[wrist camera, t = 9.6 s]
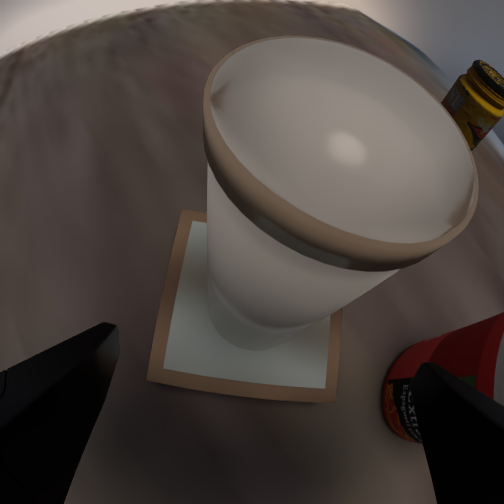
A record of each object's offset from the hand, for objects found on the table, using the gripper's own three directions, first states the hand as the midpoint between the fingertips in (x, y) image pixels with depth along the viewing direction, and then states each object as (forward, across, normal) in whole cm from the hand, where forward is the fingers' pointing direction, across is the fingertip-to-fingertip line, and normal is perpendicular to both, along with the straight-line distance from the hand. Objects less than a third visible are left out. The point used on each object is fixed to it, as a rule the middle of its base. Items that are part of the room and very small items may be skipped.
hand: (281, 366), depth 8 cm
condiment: (+26, -19, -11) cm, 34 cm away
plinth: (+10, 0, +5) cm, 12 cm away
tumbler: (+8, 0, +3) cm, 9 cm away
